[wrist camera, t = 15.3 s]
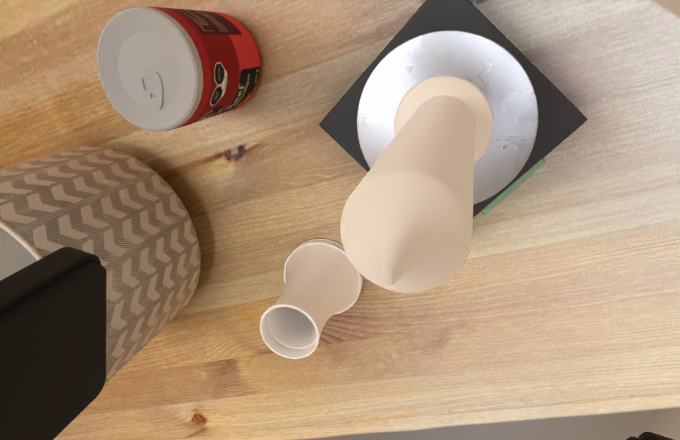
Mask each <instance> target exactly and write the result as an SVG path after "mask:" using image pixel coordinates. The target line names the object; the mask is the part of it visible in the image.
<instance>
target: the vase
mask: <svg viewBox="0 0 680 440" xmlns="http://www.w3.org/2000/svg"><path fill="white" fill-rule="evenodd" d="M284 282H285V288H284V290H283V292H282V294H281V296H280V297H279V299H278V300H277V301H276V302H275V303H274V304H273V305H272V306H271V307H270V308H269V309H267V310H266V311H265V312H264V314H263V315H262V317H261V320H260V333H261V336H262V338H263V340H264V342H265V343H266V345H267V346H268V347H269V348H270V349H271V350H272V351H274V352H275V353H276V354H278V355H280V356H283V357H285V358H290V359H300V358H304V357H307V356H309V355H310V354H311V353H313V352H314V350H315V349H316V347H317V345H318V342H319V338H320V334H321V331H322V329H323V327H324V325H325V323H326V322H327V320H328V319H329V318H330V317H331V316H332V315H335V314H339V313H342V312H344V311H346V310H348V309H349V308H350V307H351V306H352V305H353V304H354V303H355V302H356V300H357V299H358V297H359V294H360V292H361V290H362V286H363V275H362V274H361V273H360V272H359V271H358V270H357V269H356V268H355V267H354V266H353V264H352V263H351V262H350V260H349V258H348V256H347V254H346V252H345V250H344V247H343V245H341V244H339V243H337V242H335V241H332V240H328V239H312V240H308V241H306V242H303V243H302V244H300V245H299V246H297V247H296V248H295V249H294V251H293V252H292V253H291V254H290V255H289V257H288V258H287V260H286V263H285V266H284ZM344 308H345V309H344Z"/></svg>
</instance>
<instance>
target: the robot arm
mask: <svg viewBox="0 0 680 440" xmlns="http://www.w3.org/2000/svg"><path fill="white" fill-rule="evenodd" d="M106 290H107V274H106V269H105V267H104V266H102V265H101V261H100V259H99V257H98V256H96V255H94V254H91V253H88V252H85V251H82V250H79V249H75V248H72V247H63V248H60V249H58V250H56V251H54V252H53V253H51V254H49V255H47V256H45V257H43V258H41V259H40V260H38V261H36V262H34V263H32V264H30V265H28V266H27V267H25V268H23V269H21V270H19V271H17V272H15V273H14V274H12V275H10V276H8V277H6V278H4V279H3V280H1V281H0V440H53V439H54V438H55V437H56V436H57V435H58V434H59V433H60V432H61V431H62V430H63V429H64V428H65V427H66V426H67V425H68V424H69V423H70V422H71V421H73V420H74V419H75V418H76V417H77V416H78V415H79V414H80V413H81V412H82V411H83V410H84V409H85V408H86V407H87V406H88V405H89V404H90V403H91V402H92V401H93V400H94V399H95V398H96V397H97V396H98V395H99V393H100V392H101V390H102V388H103V386H104V384H105V381H106ZM627 440H673V439H670V438H667V437H664V436H661V435H658V434H654V433H651V432H644V433H642V434H641V435H640V436H639V437H638V438H636V437H630V438H628V439H627Z"/></svg>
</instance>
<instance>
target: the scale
mask: <svg viewBox="0 0 680 440" xmlns="http://www.w3.org/2000/svg"><path fill="white" fill-rule="evenodd" d="M443 75H448V76H456V77H460V78H463V79H465V80H467V81H469V82H471V83H472V84H474V85H475V86H476V87H478V88H479V89H480V90H481V91H482V92H483V94H484V95H485V96H486V98H487V100H488V101H489V104H490V106H491V109H492V113H493V119H494V129H493V135H492V139H491V141H490V144H489V146H488V148H487V150H486V151H485V153H484V154H483V155H482V156H481V158H480V159H479V160H478V161H476V162H475V163H474V188H473V217H475V216H476V215H477V214H478V213H479V212H480V211H481V212H482V213H483V214H486V213H487V212H488V211H489V210H491V209H492V208H493V207H494V206H495V205H496V204H498V203H499V202H500V201H501V200H502V199H504V198H505V197H506V196H507V195H508V194H509V193H511V192H512V191H513V190H514V189H515V188H516V187H518V186H519V185H520V184H521V183H522V182H524V181H525V180H526V179H527V178H528V177H529V176H531V175H532V174H533V173H534V172H535V171H536V170H538V169H539V168H540V167H541V166H542V165H544V164H545V163H546V162H545V160H544V157H545V156H546V155H547V154H548V153H549V152H551V151H552V150H553V149H554V148H555V147H556V146H558V145H559V144H560V143H561V142H562V141H563V140H565V139H566V138H567V137H568V136H569V135H570V134H572V133H573V132H574V131H575V130H576V129H577V128H579V127H580V126H581V125H582V124H583V123H584V122H586V121H587V118H586V117H585V116H584V115H583V114H582V113H581V112H580V111H579V110H578V109H577V108H576V107H575V106H574V105H573V104H572V103H571V102H570V101H569V100H568V99H567V98H566V97H565V96H564V95H563V94H562V93H561V92H560V91H559V90H558V89H557V88H556V87H555V86H554V85H553V84H552V83H551V82H550V81H549V80H548V79H547V78H546V77H545V76H544V75H543V74H542V73H541V72H540V71H539V70H538V69H537V68H536V67H535V66H534V65H533V64H532V63H531V62H530V61H529V60H528V59H527V58H526V57H525V56H524V55H523V54H522V53H521V52H520V51H519V50H518V49H517V48H516V47H515V46H514V45H513V44H512V43H511V42H510V41H509V40H508V39H507V38H506V37H505V36H504V35H503V34H502V33H501V32H500V31H499V30H498V29H497V28H496V27H495V26H494V25H493V24H492V23H491V22H490V21H489V20H488V19H487V18H486V17H485V16H484V15H483V14H482V13H481V12H480V11H479V10H478V9H477V8H476V7H475V6H474V5H473V4H472V3H471V2H470V1H469V0H426V1H425V2H424V4H423V5H422V6H421V7H420V8H419V9H418V10H417V12H416V13H415V14H414V15H413V16H412V17H411V19H410V20H409V21H408V22H407V23H406V24H405V26H404V27H403V28H402V29H401V30H400V31H399V33H398V34H397V35H396V36H395V37H394V38H393V39H392V41H391V42H390V43H389V44H388V45H387V46H386V48H385V49H384V50H383V51H382V52H381V53H380V55H379V56H378V57H377V58H376V59H375V60H374V62H373V63H372V64H371V65H370V66H369V67H368V68H367V70H366V71H365V72H364V73H363V74H362V75H361V77H360V78H359V79H358V80H357V81H356V82H355V84H354V85H353V86H352V87H351V88H350V89H349V90H348V92H347V93H346V94H345V95H344V96H343V97H342V99H341V100H340V101H339V102H338V103H337V104H336V106H335V107H334V108H333V109H332V110H331V111H330V113H329V114H328V115H327V116H326V117H325V118H324V119H323V121H322V122H321V123H320V124H319V125H320V126H321V127H322V128H323V129H324V130H325V131H326V132H327V133H328V134H329V135H330V136H331V137H332V138H333V139H334V140H335V141H336V142H337V143H338V144H339V145H341V146H342V147H343V148H344V149H345V150H346V151H347V152H348V153H349V154H350V155H351V156H352V157H353V158H354V159H355V160H356V161H357V162H358V163H359V164H360V165H361V166H363V167H364V168H365V169H366V170H367V171H369V170H370V169H371V167H372V166H373V165H374V164H375V162H376V161H377V160H378V158H379V157H380V156H381V155H382V153H383V152H384V151H385V149H386V148H387V147H388V145H389V144H390V143H391V142H392V140H393V139H394V138H395V135H394V118H395V113H396V110H397V108H398V105H399V103H400V101H401V100H402V98H403V97H404V96H405V94H406V93H407V92H408V91H409V90H410V89H411V88H412V87H414V86H415V85H416V84H418V83H420V82H421V81H423V80H426V79H428V78H431V77H435V76H443Z"/></svg>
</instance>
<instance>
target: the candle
mask: <svg viewBox="0 0 680 440" xmlns="http://www.w3.org/2000/svg"><path fill="white" fill-rule="evenodd" d="M493 129H494V119H493V113H492V109H491V106H490V104H489V101H488V100H487V98H486V96H485V95H484V94H483V92H482V91H481V90H480V89H479V88H478V87H476V86H475V85H474V84H472V83H471V82H469V81H467V80H465V79H463V78H460V77H456V76H448V75H443V76H435V77H431V78H428V79H426V80H423V81H421V82H420V83H418V84H416V85H415V86H414V87H412V88H411V89H410V90H409V91H408V92H407V93H406V94H405V96H404V97H403V98H402V100H401V101H400V103H399V105H398V108H397V110H396V113H395V118H394V135H395V138H394V139H393V140H392V142H391V143H390V144H389V145H388V147H387V148H386V149H385V151H384V152H383V153H382V155H381V156H380V157H379V158H378V160H377V161H376V162H375V164H374V165H373V166H372V167H371V169H370V170H369V171H368V173H367V174H366V175H365V177H364V178H363V179H362V180H361V182H360V183H359V184H358V186H357V187H356V188H355V189H354V191H353V192H352V193H351V195H350V196H349V198H348V200H347V202H346V204H345V206H344V209H343V212H342V216H341V225H340V232H341V240H342V244H343V247H344V250H345V252H346V254H347V256H348V258H349V260H350V262H351V263H352V264H353V266H354V267H355V268H356V269H357V270H358V271H359V272H360V273H361V274H362V275H363V276H364V277H365V278H366V279H368V280H369V281H371V282H372V283H374V284H376V285H378V286H380V287H382V288H385V289H388V290H392V291H396V292H403V293H416V292H423V291H427V290H431V289H433V288H436V287H438V286H440V285H442V284H444V283H445V282H447V281H448V280H449V279H451V278H452V277H453V276H454V275H455V274H456V273H457V272H458V271H459V269H460V268H461V267H462V265H463V264H464V262H465V260H466V259H467V257H468V254H469V252H470V248H471V244H472V234H473V188H474V163H475V162H476V161H478V160H479V159H480V158H481V156H482V155H483V154H484V153H485V151H486V150H487V148H488V146H489V144H490V141H491V139H492V135H493Z"/></svg>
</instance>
